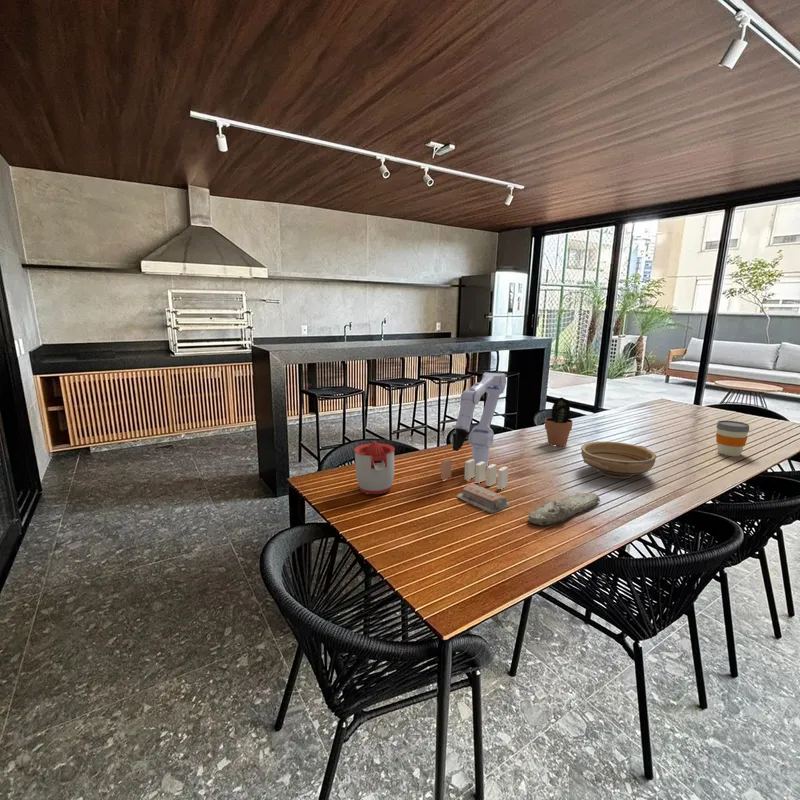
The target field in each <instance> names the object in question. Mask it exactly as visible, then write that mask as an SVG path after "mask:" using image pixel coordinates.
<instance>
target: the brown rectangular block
mask: <svg viewBox="0 0 800 800" xmlns="http://www.w3.org/2000/svg"><path fill="white" fill-rule="evenodd" d="M450 476H451V477H452V459H450V458H447V459H444V460H442V461H440V480H441V479H444V480H445V479H447V478H448V477H450Z"/></svg>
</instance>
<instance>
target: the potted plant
mask: <svg viewBox="0 0 800 800" xmlns="http://www.w3.org/2000/svg"><path fill="white" fill-rule="evenodd" d="M570 411H571V407H570V404H569V401H568V400H567V399H565V398H564V397H559V398H557V399H555V400H554V402H553V405H552V407H551V416H550V417H546V418H544V429H545V430H546V438H547V443H549V444H548V445H550V444H552V445H556V446H555V447H558V446H561V447H565V446H567V444H568V439H569V436H570V432H571V431H573V430H572V428H573V420H572V418H571V419H570ZM552 445H551V446H552ZM564 445H565V446H564Z"/></svg>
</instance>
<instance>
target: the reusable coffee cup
mask: <svg viewBox="0 0 800 800" xmlns="http://www.w3.org/2000/svg"><path fill="white" fill-rule="evenodd" d="M749 432H750V424H748V423H746V422H742V421H736V420H718V421H717V423H716V433H715V434H716V436H715V437H716V439H715V440H716V441H715V442H716V443H717V453H718V452H719V453H718V454H720V453H721V454H720V455H723V454H724V456H727V455H729V456H728V457H741V456H740V455H742V453H743V448H744V447H746V444H747V440H748V433H749Z"/></svg>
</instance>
